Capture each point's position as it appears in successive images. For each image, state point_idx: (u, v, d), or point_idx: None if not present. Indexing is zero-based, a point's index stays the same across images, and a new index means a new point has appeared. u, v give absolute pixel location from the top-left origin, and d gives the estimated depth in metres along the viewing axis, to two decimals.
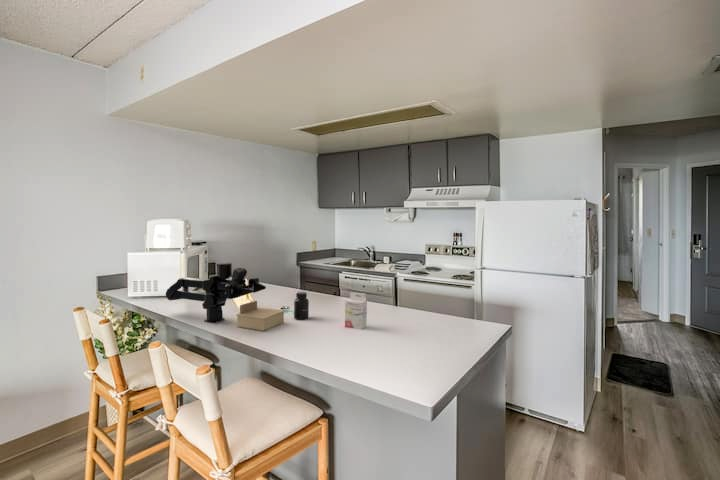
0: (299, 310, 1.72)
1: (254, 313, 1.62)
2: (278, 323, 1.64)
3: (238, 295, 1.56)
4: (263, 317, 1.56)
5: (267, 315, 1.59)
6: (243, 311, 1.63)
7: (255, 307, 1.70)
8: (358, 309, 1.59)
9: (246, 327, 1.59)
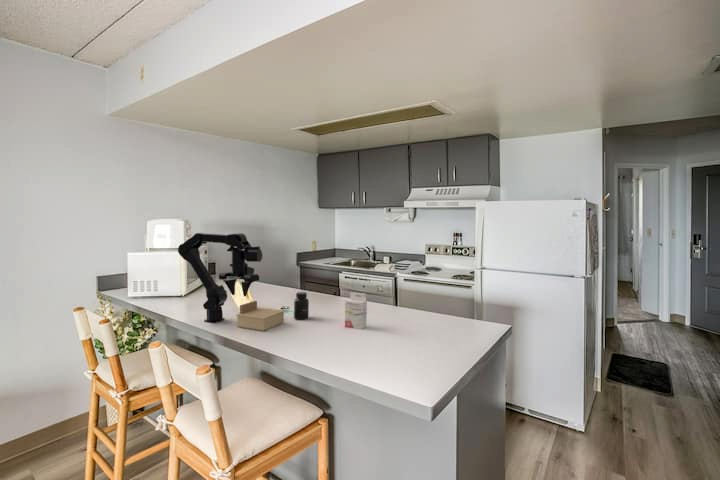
0: (299, 310, 1.72)
1: (254, 313, 1.62)
2: (278, 323, 1.64)
3: (245, 285, 1.64)
4: (263, 317, 1.56)
5: (267, 315, 1.59)
6: (243, 311, 1.63)
7: (255, 307, 1.70)
8: (358, 309, 1.59)
9: (246, 327, 1.59)
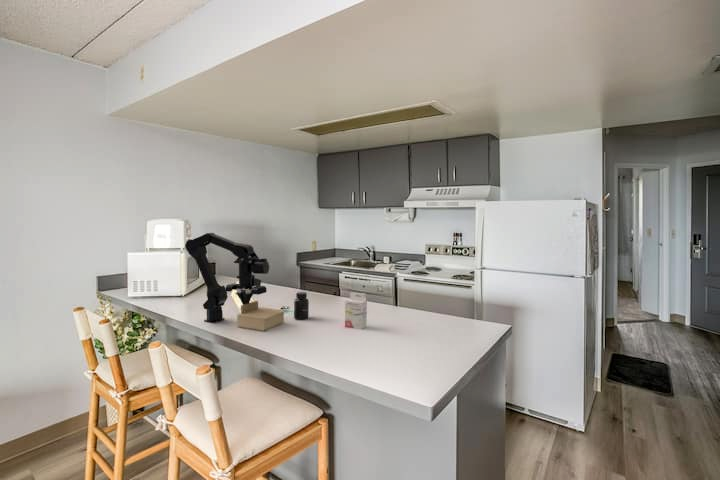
0: (299, 310, 1.72)
1: (255, 313, 1.62)
2: (278, 323, 1.64)
3: (246, 297, 1.64)
4: (264, 317, 1.56)
5: (268, 315, 1.59)
6: (244, 311, 1.62)
7: (256, 307, 1.70)
8: (358, 309, 1.59)
9: (246, 327, 1.59)
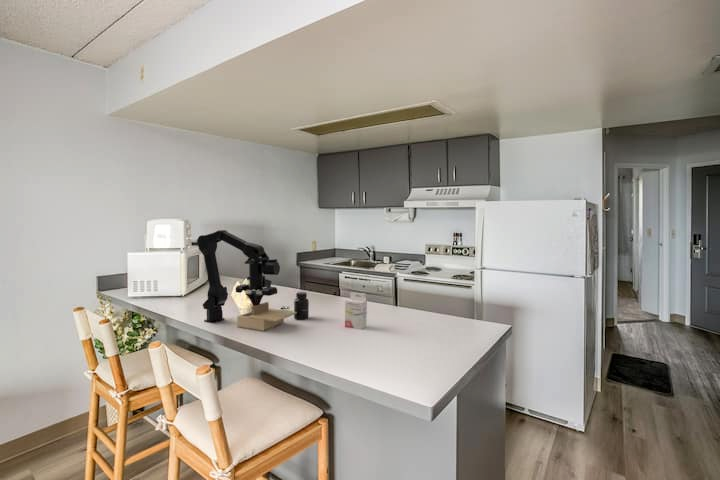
0: (299, 310, 1.72)
1: (266, 315, 1.60)
2: (278, 323, 1.64)
3: (257, 298, 1.62)
4: (276, 319, 1.53)
5: (279, 317, 1.57)
6: (255, 313, 1.60)
7: (266, 308, 1.67)
8: (358, 309, 1.59)
9: (246, 327, 1.59)
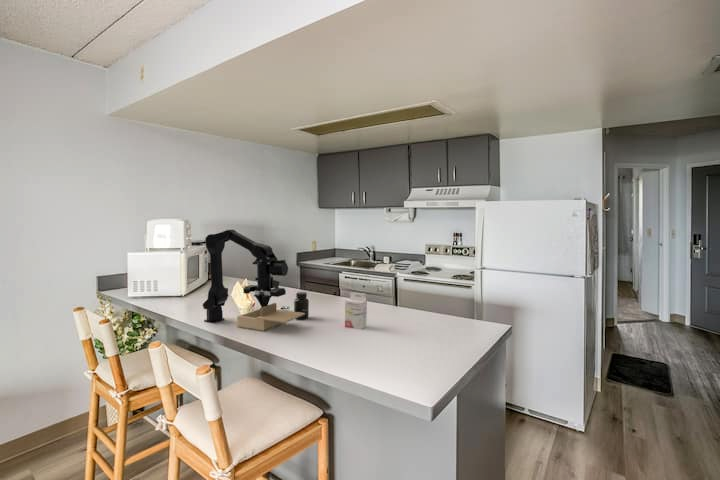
0: (299, 310, 1.72)
1: (274, 316, 1.58)
2: (278, 323, 1.64)
3: (265, 299, 1.60)
4: (284, 320, 1.52)
5: (288, 318, 1.55)
6: (263, 314, 1.58)
7: (274, 309, 1.66)
8: (358, 309, 1.59)
9: (246, 327, 1.59)
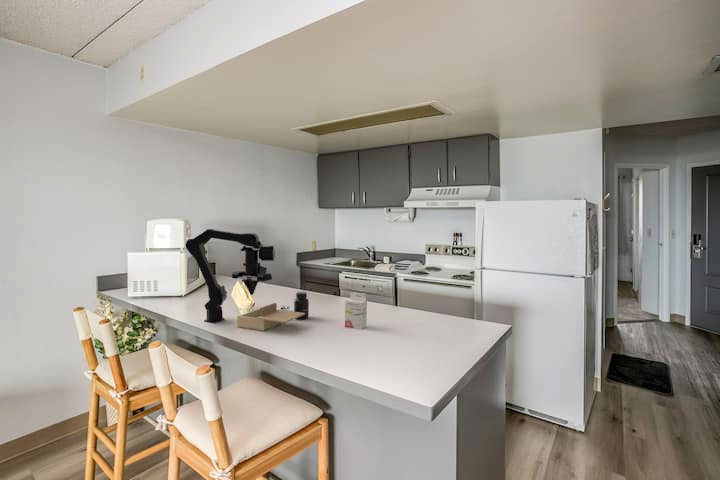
0: (299, 310, 1.72)
1: (274, 316, 1.58)
2: (278, 323, 1.64)
3: (252, 283, 1.69)
4: (284, 320, 1.52)
5: (288, 318, 1.55)
6: (263, 314, 1.58)
7: (274, 309, 1.66)
8: (358, 309, 1.59)
9: (246, 327, 1.59)
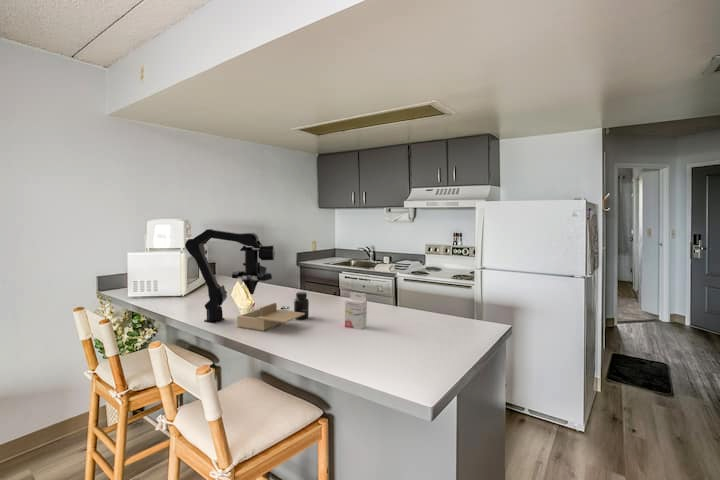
0: (299, 310, 1.72)
1: (274, 316, 1.58)
2: (278, 323, 1.64)
3: (252, 283, 1.69)
4: (284, 320, 1.52)
5: (288, 318, 1.55)
6: (263, 314, 1.58)
7: (274, 309, 1.66)
8: (358, 309, 1.59)
9: (246, 327, 1.59)
